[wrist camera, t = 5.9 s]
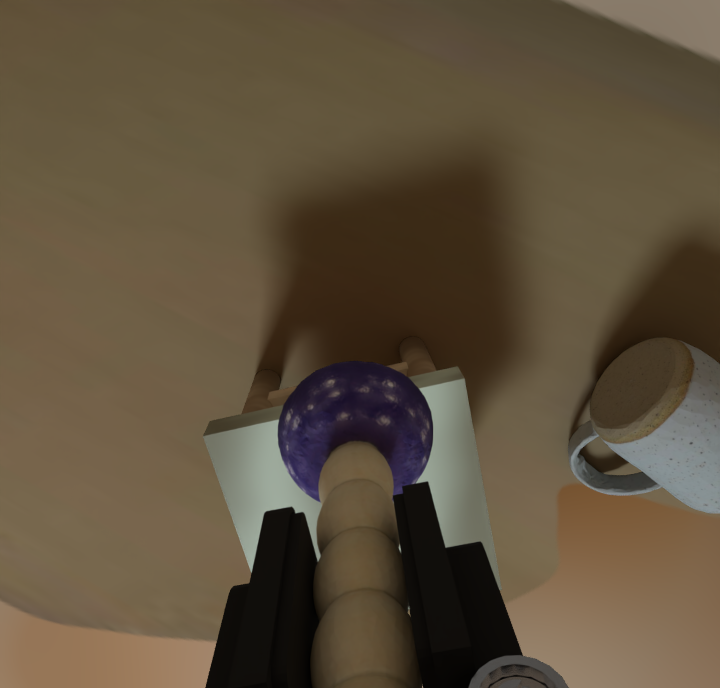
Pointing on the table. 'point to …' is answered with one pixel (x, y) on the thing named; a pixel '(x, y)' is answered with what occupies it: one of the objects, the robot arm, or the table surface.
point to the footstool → (278, 490)
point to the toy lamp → (358, 515)
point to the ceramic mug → (657, 423)
